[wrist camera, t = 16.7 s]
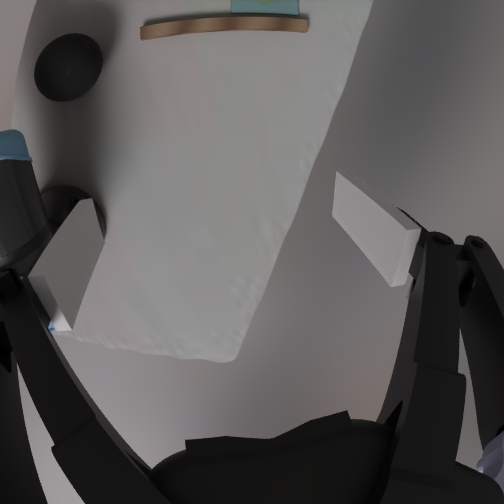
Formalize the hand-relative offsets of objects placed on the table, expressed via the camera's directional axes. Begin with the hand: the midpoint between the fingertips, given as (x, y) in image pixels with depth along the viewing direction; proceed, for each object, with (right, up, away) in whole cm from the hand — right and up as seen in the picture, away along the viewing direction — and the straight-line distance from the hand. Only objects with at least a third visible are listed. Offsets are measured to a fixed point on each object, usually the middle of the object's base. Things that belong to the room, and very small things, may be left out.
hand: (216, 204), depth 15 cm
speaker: (-24, +25, +17) cm, 39 cm away
